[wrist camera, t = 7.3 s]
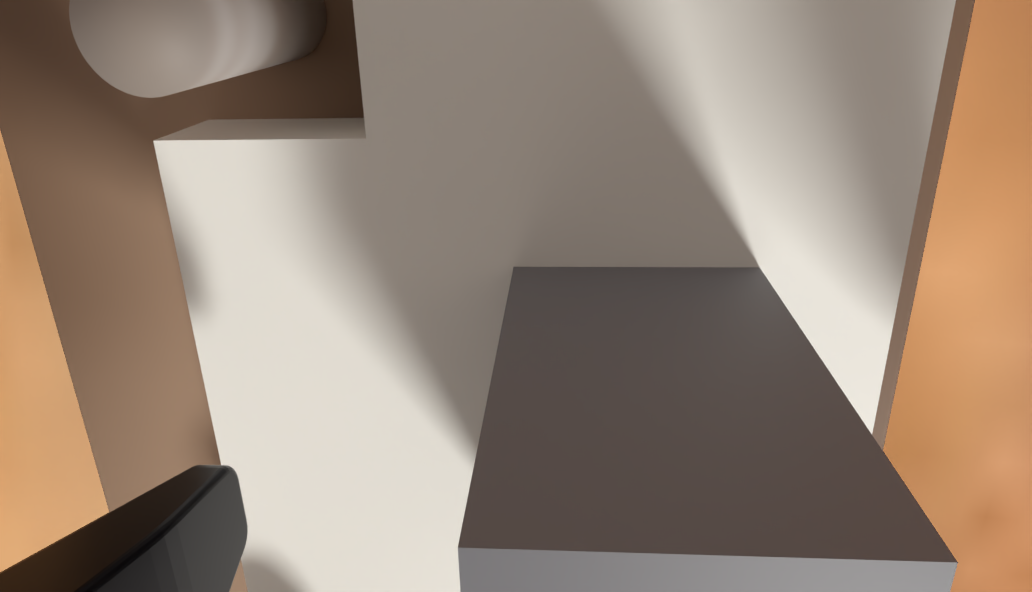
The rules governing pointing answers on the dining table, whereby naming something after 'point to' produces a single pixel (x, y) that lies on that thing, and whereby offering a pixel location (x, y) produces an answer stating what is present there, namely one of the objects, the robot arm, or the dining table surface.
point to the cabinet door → (571, 300)
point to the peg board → (142, 205)
